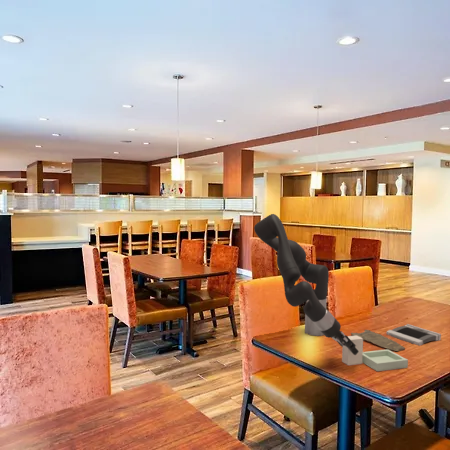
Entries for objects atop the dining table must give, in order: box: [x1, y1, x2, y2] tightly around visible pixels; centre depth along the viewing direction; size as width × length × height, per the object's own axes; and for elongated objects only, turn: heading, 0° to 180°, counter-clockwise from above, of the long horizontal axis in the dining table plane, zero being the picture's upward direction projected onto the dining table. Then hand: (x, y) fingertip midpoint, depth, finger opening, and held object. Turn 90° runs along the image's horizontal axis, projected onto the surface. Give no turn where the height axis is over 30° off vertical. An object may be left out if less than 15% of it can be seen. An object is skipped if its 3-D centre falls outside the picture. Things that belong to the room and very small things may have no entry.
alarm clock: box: [386, 323, 442, 347], centre depth 187 cm, size 17×5×16 cm
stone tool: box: [350, 329, 406, 352], centre depth 180 cm, size 11×3×25 cm
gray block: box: [341, 335, 364, 366], centre depth 156 cm, size 4×6×10 cm, turn 107°
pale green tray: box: [362, 348, 409, 372], centre depth 156 cm, size 11×14×3 cm
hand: (350, 349), depth 156 cm, fingers open, 8 cm apart
